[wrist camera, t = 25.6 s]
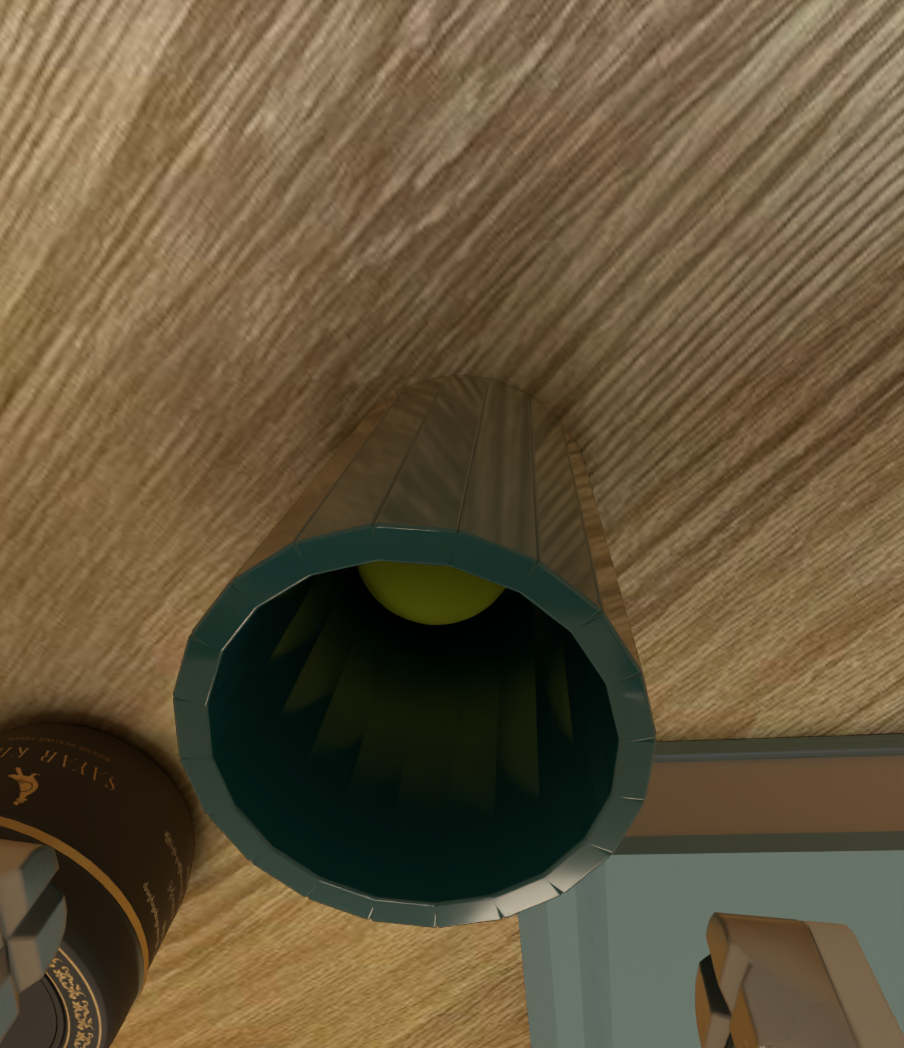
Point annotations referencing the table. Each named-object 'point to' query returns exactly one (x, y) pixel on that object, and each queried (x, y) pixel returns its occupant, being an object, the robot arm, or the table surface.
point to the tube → (425, 674)
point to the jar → (94, 873)
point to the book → (721, 882)
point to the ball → (428, 591)
